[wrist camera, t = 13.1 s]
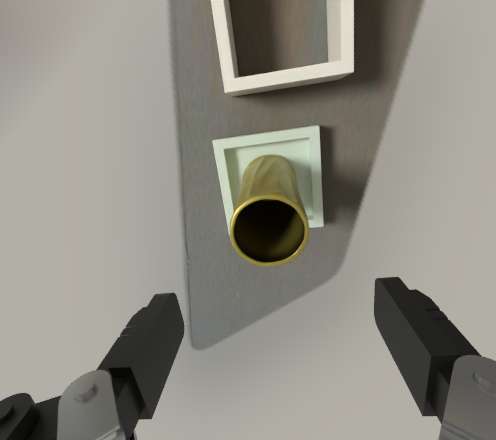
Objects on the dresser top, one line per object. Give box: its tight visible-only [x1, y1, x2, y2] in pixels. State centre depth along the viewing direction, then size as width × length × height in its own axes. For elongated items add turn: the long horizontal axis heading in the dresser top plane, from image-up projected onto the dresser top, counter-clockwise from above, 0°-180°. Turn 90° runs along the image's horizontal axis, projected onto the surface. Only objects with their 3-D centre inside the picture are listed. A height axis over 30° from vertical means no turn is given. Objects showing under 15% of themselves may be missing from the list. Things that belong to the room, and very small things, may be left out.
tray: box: [213, 125, 324, 236], centre depth 30 cm, size 11×11×2 cm
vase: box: [229, 155, 309, 266], centre depth 24 cm, size 6×6×14 cm
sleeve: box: [211, 0, 354, 97], centre depth 23 cm, size 11×11×5 cm
